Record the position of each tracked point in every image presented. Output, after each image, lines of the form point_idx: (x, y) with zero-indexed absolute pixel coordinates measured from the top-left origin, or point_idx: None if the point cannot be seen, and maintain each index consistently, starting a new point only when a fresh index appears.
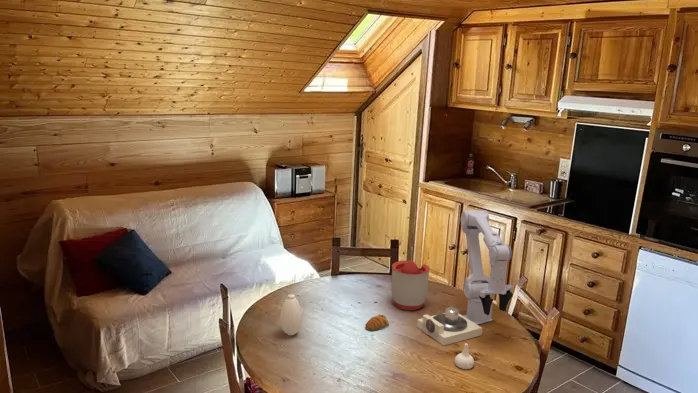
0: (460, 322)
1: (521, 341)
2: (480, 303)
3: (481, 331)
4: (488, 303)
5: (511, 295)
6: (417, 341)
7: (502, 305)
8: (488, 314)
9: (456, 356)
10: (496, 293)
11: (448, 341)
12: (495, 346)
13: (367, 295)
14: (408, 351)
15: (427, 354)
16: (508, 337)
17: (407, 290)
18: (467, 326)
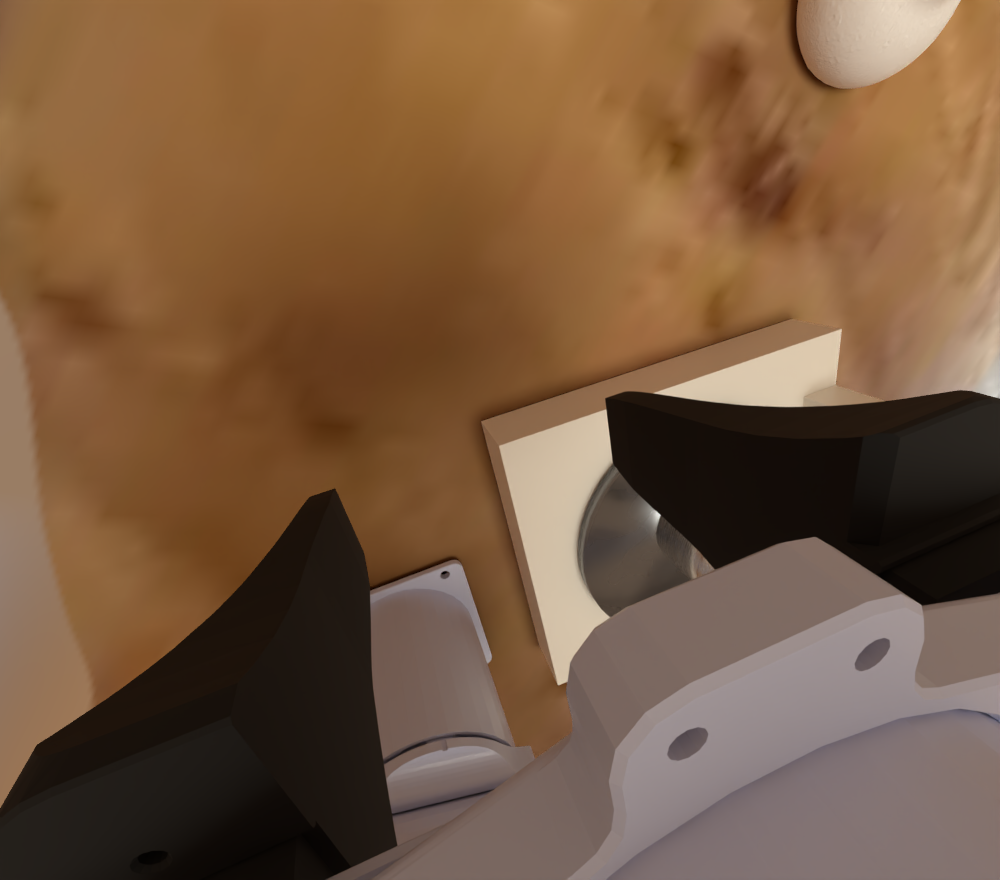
0: (642, 513)
1: (141, 260)
2: (446, 726)
3: (493, 432)
4: (866, 404)
5: (100, 737)
6: (873, 391)
7: (342, 568)
8: (623, 394)
9: (943, 27)
10: (954, 616)
11: (775, 334)
12: (461, 225)
13: None
14: (975, 291)
15: (927, 232)
16: (257, 358)
17: None
18: (599, 475)
